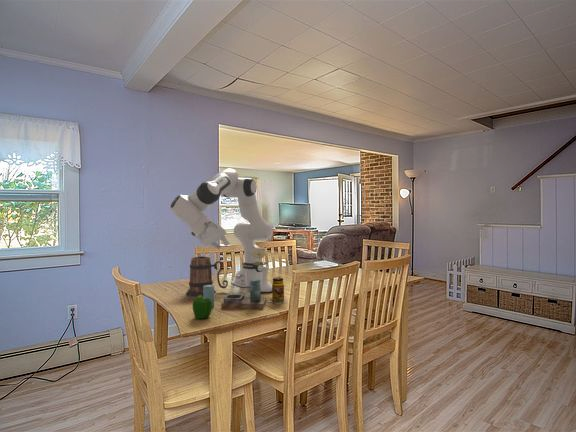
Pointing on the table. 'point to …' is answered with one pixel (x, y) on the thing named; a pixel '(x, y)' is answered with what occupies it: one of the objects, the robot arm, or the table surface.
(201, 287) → the tankard
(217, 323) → the table surface
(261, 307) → the base
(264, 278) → the flower in vase
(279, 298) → the condiment
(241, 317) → the table surface
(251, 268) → the robot arm
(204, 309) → the bell pepper
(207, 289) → the column
